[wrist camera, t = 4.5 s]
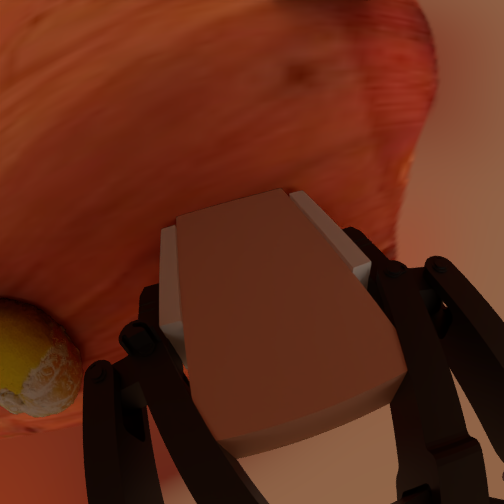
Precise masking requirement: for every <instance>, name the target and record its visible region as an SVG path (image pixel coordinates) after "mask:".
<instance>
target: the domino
mask: <svg viewBox="0 0 504 504" xmlns="http://www.w3.org/2000/svg"><path fill="white" fill-rule="evenodd" d="M176 228H177V247H178V266H179V281H180V295H181V307H182V318H183V331H184V341H185V350H186V358H187V367H188V374H189V382H190V389H191V396H192V400H193V402H194V404H195V406H196V408H197V409H198V411H199V413H200V415H201V416H202V418H203V420H204V422H205V423H206V425H207V427H208V428H209V430H210V432H211V433H212V435H213V437H214V438H215V440H216V441H217V442H218V443H219V444H220V445H221V446H222V447H223V448H224V449H225V450H227V451H228V452H229V453H230V454H231V455H232V456H233V457H234V458H236V459H238V458H242V457H247V456H251V455H254V454H259V453H262V452H266V451H270V450H273V449H277V448H279V447H283V446H286V445H289V444H293V443H295V442H299V441H301V440H305V439H308V438H310V437H313V436H316V435H319V434H321V433H324V432H327V431H329V430H332V429H334V428H337V427H339V426H342V425H344V424H346V423H348V422H351V421H353V420H355V419H358V418H360V417H362V416H364V415H366V414H369V413H371V412H373V411H375V410H377V409H379V408H381V407H383V406H385V405H387V404H389V403H390V402H391V401H392V399H393V397H394V395H395V394H396V392H397V390H398V388H399V386H400V384H401V382H402V381H403V379H404V377H405V375H406V373H407V371H408V370H407V366H406V362H405V359H404V355H403V352H402V348H401V345H400V341H399V338H398V335H397V331H396V329H395V327H394V326H393V325H392V323H391V322H390V320H389V319H388V318H387V316H386V315H385V314H384V312H383V311H382V310H381V308H380V307H379V306H378V304H377V303H376V302H375V300H374V299H373V298H372V297H371V295H370V294H369V293H368V291H367V290H366V289H365V287H364V286H363V285H362V284H361V282H360V281H359V280H358V279H357V277H356V276H355V275H354V273H352V272H351V270H350V269H349V268H348V266H347V265H346V264H345V263H344V261H343V260H342V259H341V258H340V257H339V255H338V254H337V253H336V252H335V250H334V249H333V248H332V247H331V246H330V244H329V243H328V242H327V241H326V240H325V238H324V237H323V236H322V235H321V234H320V232H319V231H318V230H317V229H316V228H315V226H314V225H313V224H312V223H311V222H310V221H309V219H308V218H307V217H306V216H305V215H304V214H303V212H302V211H301V210H300V209H299V208H298V207H297V206H296V204H295V203H294V202H293V201H292V200H291V199H290V197H289V196H288V195H287V194H286V193H285V192H284V191H283V190H282V188H279V189H275V190H271V191H267V192H264V193H260V194H256V195H252V196H248V197H244V198H241V199H237V200H233V201H230V202H226V203H222V204H219V205H215V206H212V207H208V208H205V209H201V210H198V211H194V212H191V213H187V214H184V215H181V216H177V217H176Z"/></svg>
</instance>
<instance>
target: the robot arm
mask: <svg viewBox="0 0 504 504" xmlns="http://www.w3.org/2000/svg"><path fill="white" fill-rule="evenodd" d="M289 197H290V199H291V200H292V201H293V202H294V203H295V204H296V206H297V207H298V208H299V209H300V210H301V211H302V212H303V214H304V215H305V216H306V217H307V218H308V219H309V221H310V222H311V223H312V224H313V225H314V226H315V228H316V229H317V230H318V231H319V232H320V234H321V235H322V236H323V237H324V238H325V240H326V241H327V242H328V243H329V244H330V246H331V247H332V248H333V249H334V250H335V252H336V253H337V254H338V255H339V257H340V258H341V259H342V260H343V261H344V263H345V264H346V265H347V266H348V268H349V269H350V270H351V272H352V273H354V275H355V276H356V277H357V279H358V280H359V281H360V282H361V284H362V285H363V286H364V287H365V289H366V290H367V291H368V293H369V294H370V295H371V297H372V298H373V299H374V300H375V302H376V303H377V304H378V306H379V307H380V308H381V310H382V311H383V312H384V314H385V315H386V316H387V318H388V319H389V320H390V322H391V323H392V325H393V326H394V327H395V329H396V331H397V335H398V338H399V341H400V345H401V348H402V352H403V355H404V359H405V362H406V366H407V370H408V371H407V373H406V375H405V377H404V379H403V381H402V382H401V384H400V386H399V388H398V390H397V392H396V394H395V395H394V397H393V399H392V401H391V402H390V408H391V414H392V420H393V426H394V433H395V440H396V447H397V454H398V463H399V469H398V474H397V478H396V489H397V501H395V502H394V503H392V504H504V500H501V499H497V498H492V497H489V494H488V485H487V477H486V470H485V464H484V459H483V453H482V449H481V446H480V443H479V442H478V441H477V439H475V438H473V437H471V436H470V435H469V434H468V432H467V428H466V424H465V420H464V416H463V412H462V408H461V405H460V401H459V398H458V395H457V391H456V388H455V384H454V381H453V378H452V375H451V371H452V373H453V374H454V376H455V378H456V379H457V381H458V383H459V384H460V386H461V388H462V390H463V391H464V393H465V395H466V397H467V398H468V400H469V402H470V403H471V405H472V407H473V409H474V411H475V413H476V415H477V417H478V418H479V420H480V422H481V424H482V426H483V428H484V430H485V432H486V434H487V436H488V438H489V440H490V442H491V444H492V446H493V448H494V449H495V452H496V453H497V455H498V456H499V457H500V459H501V460H502V461H503V462H504V322H503V321H502V319H501V318H500V317H499V316H498V314H497V313H496V312H495V311H494V309H492V307H491V306H490V305H489V303H488V302H487V301H486V300H485V299H484V298H483V296H482V295H481V294H480V293H479V292H478V291H477V290H476V288H475V287H474V286H473V285H472V284H471V283H470V282H469V281H468V279H467V278H465V276H464V275H463V274H462V273H461V272H460V271H459V270H458V269H457V268H456V267H455V266H454V265H453V264H452V262H450V261H449V260H448V259H446V258H444V257H441V256H432V257H430V258H428V259H427V260H426V262H425V266H424V267H418V268H407V267H406V265H404V264H403V263H401V262H398V261H395V260H389V259H388V258H387V257H386V256H385V255H384V254H383V253H382V252H381V251H380V250H379V249H378V248H377V247H376V246H375V245H374V244H372V242H371V241H370V240H369V239H367V237H366V236H365V235H364V234H363V233H362V232H361V231H359V230H357V229H355V228H353V227H348V228H345V229H341V228H340V227H339V226H338V225H337V224H336V223H335V222H334V221H333V220H332V219H331V218H330V217H329V216H328V215H327V214H326V213H325V212H324V211H323V210H322V209H321V208H320V207H319V206H318V205H317V204H316V203H315V202H314V201H313V200H312V199H311V198H310V197H309V196H308V195H307V194H306V193H305V192H304V191H303V190H301V191H297V192H293V193H289ZM443 302H444V303H445V304H446V306H447V307H445V306H444V304H443ZM139 306H140V307H139V314H138V320H135V321H132V322H130V323H129V324H128V325H126V326H125V327H124V328H123V330H122V331H121V333H120V335H119V343H120V345H121V346H122V347H123V348H124V350H125V351H126V352H127V353H128V356H127V357H125V358H124V359H122V360H120V361H118V362H116V363H114V364H113V365H112V364H111V363H110V362H109V361H106V360H98V361H96V362H94V363H93V364H91V365H90V366H89V367H88V369H87V370H86V372H85V376H84V388H83V450H84V468H85V478H86V488H87V497H88V504H164V501H163V497H162V493H161V488H160V484H159V479H158V474H157V469H156V464H155V459H154V453H153V448H152V441H151V435H150V429H149V422H148V415H147V405H148V407H149V409H150V411H151V414H152V416H153V419H154V421H155V423H156V425H157V428H158V430H159V432H160V434H161V436H162V439H163V441H164V443H165V445H166V447H167V449H168V451H169V453H170V455H171V457H172V459H173V461H174V463H175V465H176V467H177V469H178V471H179V473H180V475H181V476H182V478H183V480H184V482H185V484H186V486H187V487H188V489H189V491H190V493H191V494H192V496H193V498H194V500H195V501H196V503H197V504H269V503H268V502H267V500H266V499H265V498H264V497H263V495H262V494H261V493H260V491H259V490H258V489H257V487H256V486H255V485H254V483H253V482H252V481H251V479H250V478H249V476H248V475H247V474H246V472H245V471H244V469H243V468H242V467H241V465H240V464H239V462H238V461H237V459H236V458H234V457H233V456H232V455H231V454H230V453H229V452H228V451H227V450H225V449H224V448H223V447H222V446H221V445H220V444H219V443H218V442H217V441H216V440H215V438H214V437H213V435H212V433H211V432H210V430H209V428H208V427H207V425H206V423H205V422H204V420H203V418H202V416H201V415H200V413H199V411H198V409H197V408H196V406H195V404H194V402H193V400H192V396H191V389H190V382H189V380H188V378H187V377H186V375H185V374H184V372H183V364H184V366H185V367H186V369H188V367H187V358H186V350H185V341H184V331H183V318H182V307H181V295H180V281H179V266H178V247H177V228H176V226H175V225H173V226H170V227H166V228H163V229H161V243H160V271H159V283H158V284H154V285H151V286H147V287H144V289H143V291H142V293H141V295H140V300H139ZM182 363H183V364H182ZM450 369H451V371H450ZM502 478H503V481H504V472H503V476H502Z"/></svg>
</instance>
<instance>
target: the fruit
mask: <svg viewBox="0 0 504 504" xmlns="http://www.w3.org/2000/svg"><path fill="white" fill-rule="evenodd" d="M82 378H83V369H82V362H81V356H80V350H79V349H77V348H76V347H75V346H74V345H73V343H72V341H71V339H70V337H69V336H68V335H67V333H66V331H65V329H64V328H63V326H60V325H58V324H57V323H56V322H55V321H54V320H53V319H52V318H51V317H50V316H49V315H47V314H45V313H44V312H43V311H42V310H40V309H37V308H36V307H35V306H33V305H30V304H26V303H22V302H19V301H16V300H9V299H4V298H1V299H0V405H1V406H2V407H4V408H5V409H7V410H8V411H9V412H11V413H13V414H18V413H23V412H25V413H27V414H28V415H31V416H33V417H45V416H49V415H51V414H57V413H60V412H62V411H64V410H65V409H66V408H68V407H69V406H70V405H71V404H73V403H74V400H75V399H76V397H77V395H78V392H79V390H80V386H81V383H82Z"/></svg>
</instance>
